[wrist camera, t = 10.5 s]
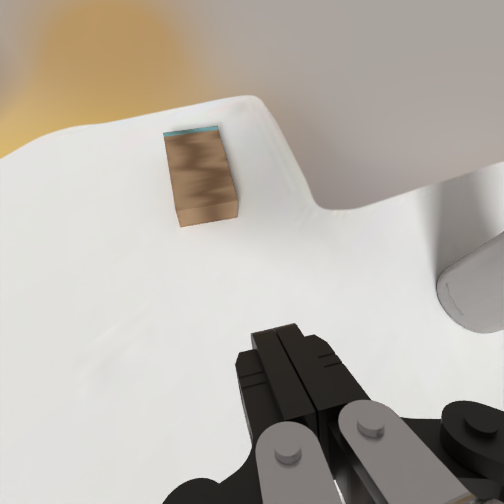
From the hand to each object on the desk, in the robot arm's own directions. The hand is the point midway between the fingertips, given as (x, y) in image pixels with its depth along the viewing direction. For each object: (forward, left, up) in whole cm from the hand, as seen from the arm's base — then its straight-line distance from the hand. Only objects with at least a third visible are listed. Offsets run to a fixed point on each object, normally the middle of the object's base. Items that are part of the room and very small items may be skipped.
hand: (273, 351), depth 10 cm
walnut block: (0, -22, -24) cm, 33 cm away
